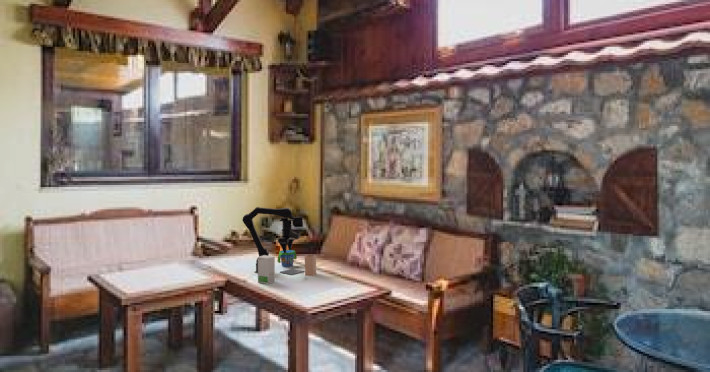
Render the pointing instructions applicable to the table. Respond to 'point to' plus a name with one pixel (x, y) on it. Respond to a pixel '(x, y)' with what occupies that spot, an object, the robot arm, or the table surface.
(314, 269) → the tan rectangular block
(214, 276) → the table surface
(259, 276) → the skincare box
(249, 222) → the robot arm
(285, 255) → the snack cup
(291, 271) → the slate coaster
